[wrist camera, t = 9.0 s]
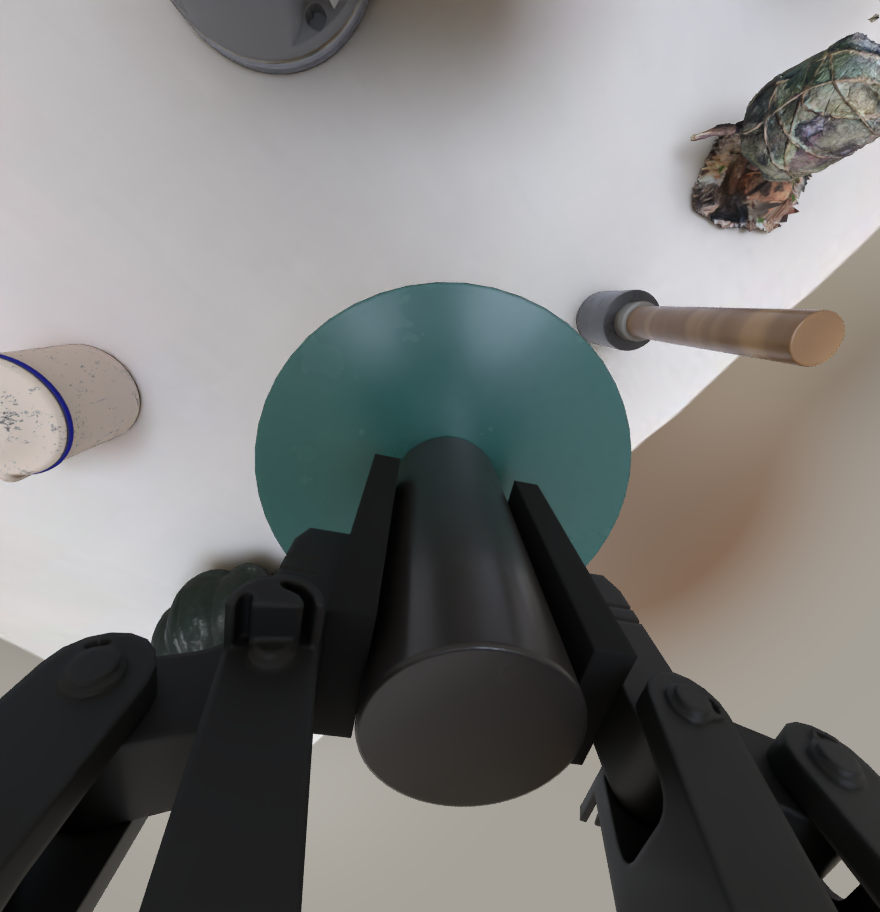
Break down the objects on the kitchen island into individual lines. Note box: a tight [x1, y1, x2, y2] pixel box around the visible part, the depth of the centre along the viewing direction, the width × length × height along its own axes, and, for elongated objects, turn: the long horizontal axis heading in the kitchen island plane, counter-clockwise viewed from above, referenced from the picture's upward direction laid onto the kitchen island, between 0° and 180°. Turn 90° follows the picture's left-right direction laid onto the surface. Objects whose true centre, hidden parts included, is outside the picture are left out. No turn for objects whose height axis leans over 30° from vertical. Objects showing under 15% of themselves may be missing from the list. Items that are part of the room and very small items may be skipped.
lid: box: [255, 282, 631, 807], centre depth 11 cm, size 13×13×10 cm
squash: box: [151, 563, 267, 656], centre depth 41 cm, size 14×15×15 cm
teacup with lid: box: [0, 344, 140, 482], centre depth 33 cm, size 12×9×12 cm
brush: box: [577, 290, 845, 367], centre depth 27 cm, size 4×4×22 cm
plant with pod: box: [691, 14, 880, 233], centre depth 24 cm, size 8×11×20 cm
